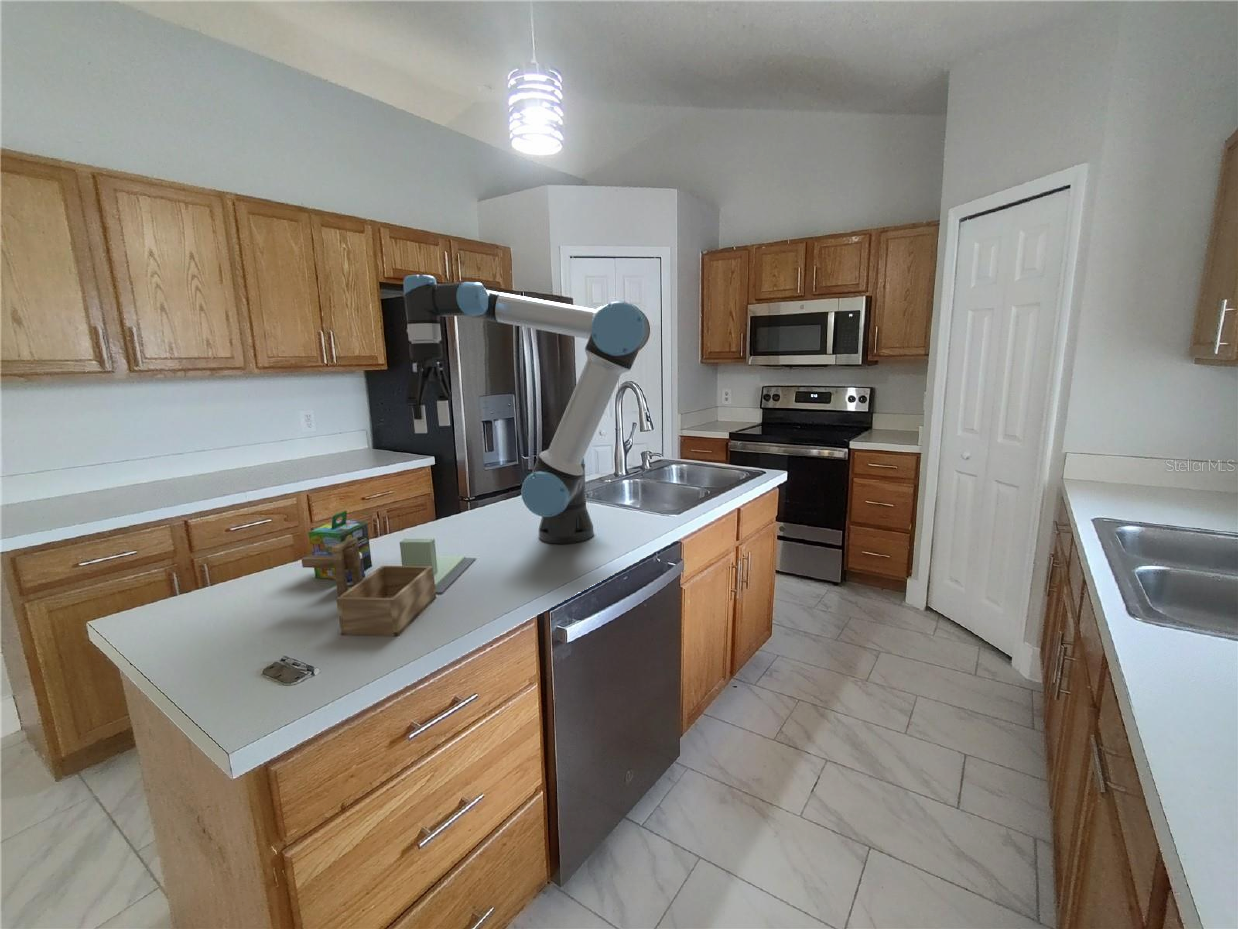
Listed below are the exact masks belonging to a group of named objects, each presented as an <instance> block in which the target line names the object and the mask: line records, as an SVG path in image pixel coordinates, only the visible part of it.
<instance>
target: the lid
mask: <svg viewBox="0 0 1238 929" xmlns="http://www.w3.org/2000/svg"><path fill="white" fill-rule="evenodd" d="M435 540H436V539H435V538H403V539H402V540H400V541H399V548H400V559H401V560H400V561H401V566H433V572H434V582H435V589H437V588H438V587H439V586H440V585H441V584H442V583H443V582H444V581H445V580H446V579H447V578H448V577H449V576H450V575H451V574H452V573H453V572H454V571H455V570H456V569H457V568H458V567H459V566H460V565H461V564H462V563H463V562H464V561H465V558H466V555H456V556H455V555H437V551H436V550H437V549H436V541H435Z"/></svg>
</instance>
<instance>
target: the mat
mask: <svg viewBox="0 0 1238 929" xmlns="http://www.w3.org/2000/svg"><path fill="white" fill-rule="evenodd" d="M476 560H477V557H465V561H464V562H463V563H462V564H461V565H460V566H459V567H458V568H457V569H456V570H455V571H454V572H453V573H452V574H451V575H450V576H449V577H448V578H447V579H446V580H445V581H444V582H443V583H442V584H441V585H440V586H439V587H438V588H437V589H435V592H436V595H443V594H444V593H445V592H446V591H447V590H448V589H449V588H450V586H452V585H453V583H455V582H456V581H457V580H458V579H459V577H460V576H461V575H463V573H464V572H466V571H467V569H468V568H469V567H470V566H471V565H472V564H473V563H475V561H476Z"/></svg>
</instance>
